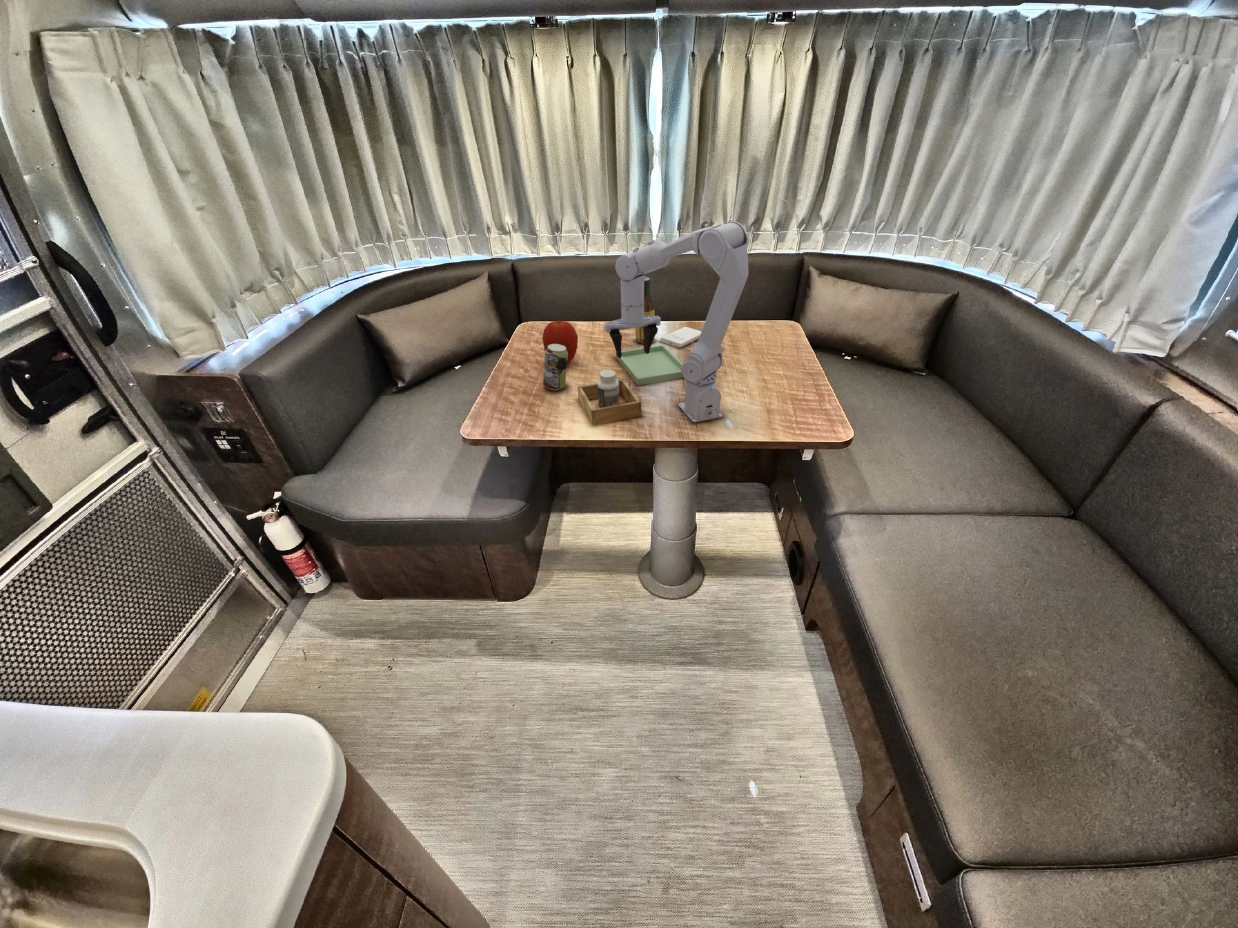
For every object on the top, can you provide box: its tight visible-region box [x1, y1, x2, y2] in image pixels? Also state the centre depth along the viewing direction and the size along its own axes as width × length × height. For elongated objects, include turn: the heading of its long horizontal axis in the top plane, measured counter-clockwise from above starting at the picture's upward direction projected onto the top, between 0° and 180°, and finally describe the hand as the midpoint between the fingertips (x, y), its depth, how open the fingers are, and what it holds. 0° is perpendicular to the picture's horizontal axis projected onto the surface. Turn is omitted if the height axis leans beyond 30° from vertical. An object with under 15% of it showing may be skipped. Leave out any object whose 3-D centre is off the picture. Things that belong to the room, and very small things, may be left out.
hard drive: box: [660, 326, 702, 349], centre depth 172 cm, size 2×8×12 cm
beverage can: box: [542, 344, 568, 391], centre depth 143 cm, size 6×7×12 cm
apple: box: [541, 319, 579, 365], centre depth 156 cm, size 10×10×14 cm
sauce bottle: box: [634, 276, 655, 345], centre depth 166 cm, size 7×6×20 cm
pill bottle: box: [597, 369, 620, 408], centre depth 134 cm, size 5×5×10 cm
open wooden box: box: [577, 378, 642, 426], centre depth 136 cm, size 14×13×4 cm
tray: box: [615, 344, 685, 386], centre depth 156 cm, size 20×16×2 cm
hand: (632, 354), depth 140 cm, fingers open, 7 cm apart
